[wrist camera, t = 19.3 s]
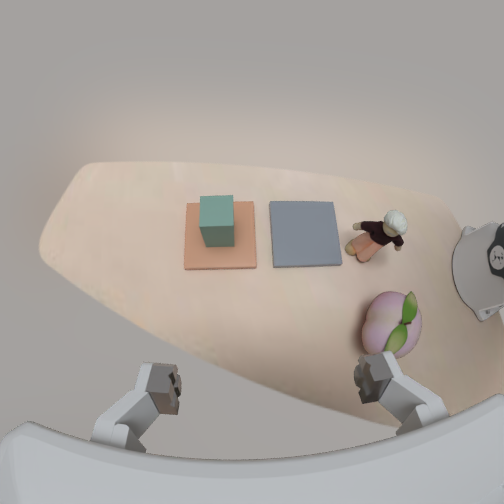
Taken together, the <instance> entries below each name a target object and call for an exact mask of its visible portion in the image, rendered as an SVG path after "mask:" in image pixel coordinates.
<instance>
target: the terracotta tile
mask: <svg viewBox="0 0 504 504" xmlns="http://www.w3.org/2000/svg"><path fill="white" fill-rule="evenodd" d="M233 208H234V244H235V247H206V246H205V243H204V240H203V237H202V234H201V231H200V228H199V215H200V203H187V211H186V230H185V254H184V269H185V270H204V269H247V268H256V247H255V225H254V204H253V201H251V202H233Z"/></svg>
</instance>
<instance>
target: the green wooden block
mask: <svg viewBox="0 0 504 504" xmlns="http://www.w3.org/2000/svg"><path fill="white" fill-rule="evenodd" d="M199 228H200V231H201V234H202V237H203V240H204V243H205V246H206V247H235V244H234V208H233V195H226V196H200V215H199Z"/></svg>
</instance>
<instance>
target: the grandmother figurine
mask: <svg viewBox="0 0 504 504" xmlns="http://www.w3.org/2000/svg"><path fill="white" fill-rule="evenodd" d="M353 229H354V230H356V231H357V230H364V231H367V232H366V233H363V234H361V235H359V236H358V237H356V238H355V239H353V240H351V241H350V242H349V243H348V244H347V245H346V247H345V251H346V252H347V253H348V254H349V255H351V256H353V255H355V254H356V253H357V257H358V259H359V260H360V261H362V262H367V261H369V260H370V259H371V256H373V255H374V254H375V253H376V252H377V251H378V250H379V249H380V248H381V247H383V246H385V245H387V244H388V243H390V242H391V241H392V242H393V243H394V244H395V246H394V248H395V250H396V251H400V250H401V246H402V245H403V243H404V241H403V239H402V237H401V236H400V235H403V234H405V233H406V231H407V220H406V218H405V217H404V215H403V213H401V212H399V211H397V210H392V211H389V212H388V213H387V214H386V215H385V217H384V222H382V221H379V222H374V221H363V222H360V223H355V224H354V225H353Z"/></svg>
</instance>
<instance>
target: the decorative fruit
mask: <svg viewBox="0 0 504 504" xmlns="http://www.w3.org/2000/svg"><path fill="white" fill-rule="evenodd" d="M421 327H422V318H421V314H420V311H419V309H418V307H417V301H416V298H415V296H414V294H413V293H412V291H411V292H410V293H409V294H408V295H407V296H406V295H404V294H401V293H398V292H384V293H382V294H380V295H378V296H377V297H376V298H375V299H374V301H373V302H372V303H371V305H370V307H369V309H368V311H367V314H366V321H365V323H364V325H363V327H362V343H363V346H364V348H365V350H366V351H367V352H368V353H369V354H372V353H378V352H385V351H391V352H392V353H393V355H394V357H395V359H397V358H401V357H403V356H405V355H406V354H408V353H409V352H410V351H411V350H412V349H413V348H414V346H415V345H416V343H417V341H418V339H419V336H420V332H421Z"/></svg>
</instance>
